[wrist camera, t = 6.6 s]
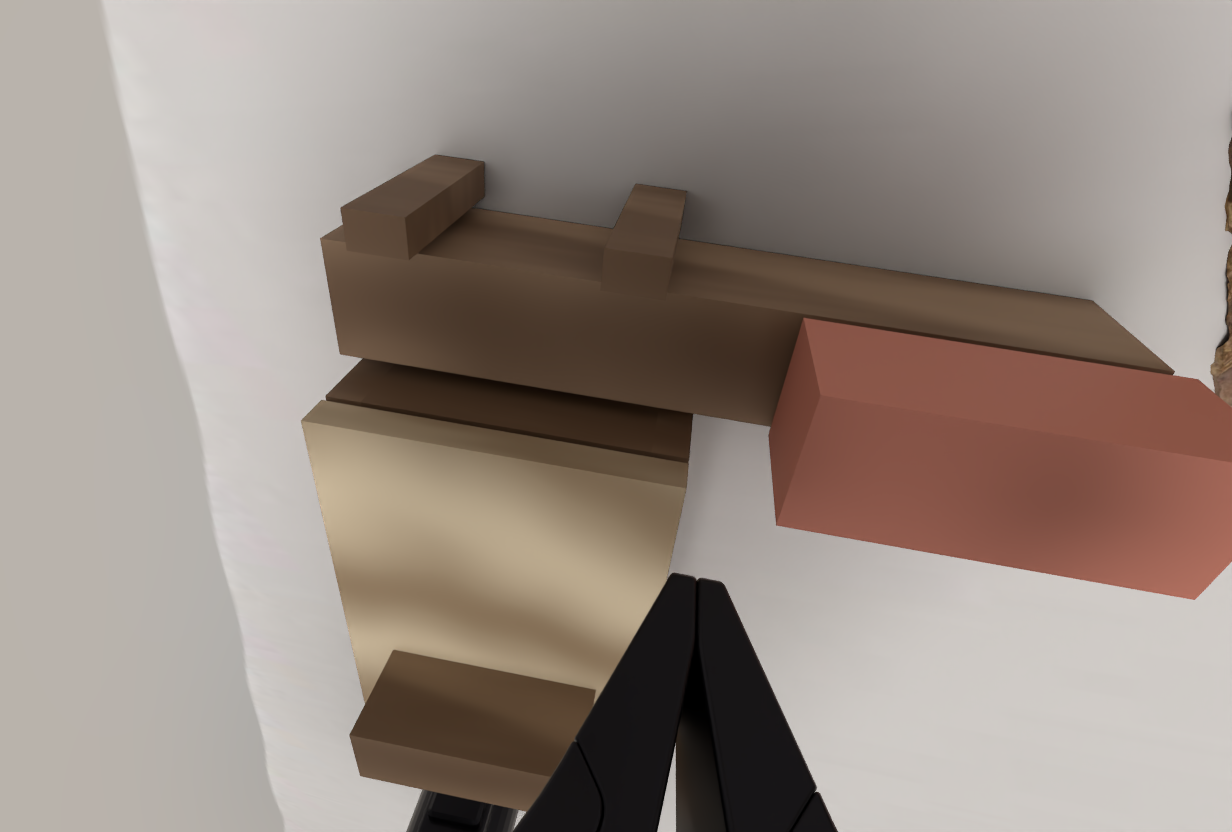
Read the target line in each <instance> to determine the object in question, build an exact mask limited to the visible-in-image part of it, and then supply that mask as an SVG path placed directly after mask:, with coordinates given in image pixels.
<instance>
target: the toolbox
mask: <svg viewBox="0 0 1232 832" xmlns="http://www.w3.org/2000/svg"><path fill="white" fill-rule="evenodd" d="M686 193H687V191H682V190H675V189H668V188H661V187H654V186H648V185H641V184H635V186H634V188H633V190H632V192H631V194H630V196H629V198H628V200H627V202H626V204H625V206H624V208H623V210H622V212H621V214H620V216H619V218H618V220H617V222H616V225H615V227H614V229H611V228H604V227H597V226H591V225H584V224H577V223H571V222H564V221H557V220H551V219H544V218H537V217H531V216H524V215H517V214H511V213H504V212H497V211H491V210H484V209H477V208H472V207H473V206H474V205H475V204H476V203H478V202H479V201H480V200H481V199H482V198H483V197H485V183H484V162H482V161H475V160H468V159H461V158H454V157H447V156H440V155H433V156H432V157H430V158H428V159H426V160H424V161H423V162H421V163H419V164H417V165H415V166H414V167H412V168H410V169H408V170H407V171H405V172H403V173H401V174H399V175H398V176H396V177H394V178H392V179H391V180H389V181H387V182H385V183H383V184H382V185H380V186H378V187H376V188H374V189H373V190H371V191H369V192H367V193H366V194H364V195H362V196H360V197H358V198H357V199H355V200H353V201H351V202H350V203H348V204H346V205H344V206H342V207H341V215H342V222H343V225H342V226H340V227H338V228H337V229H335V230H333V231H332V232H330V233H328V234H327V235H325V236H323V237H322V238H320V240H321V246H322V252H323V258H324V264H325V269H326V275H327V281H328V287H329V293H330V299H331V305H332V311H333V316H334V322H335V328H336V334H337V340H338V346H339V352H340V354H341V355H347V356H353V357H359V358H363V359H362V360H361V361H360V362H359V363H358V364H357V365H356V366H355V367H354V368H353V369H352V370H351V371H350V372H349V373H348V374H347V375H346V376H345V377H344V378H343V379H342V380H341V381H340V382H339V383H338V384H337V385H336V386H335V387H334V388H333V389H332V390H331V391H330V392H329V393H328V394H327V395H326V401H330V402H336V403H342V404H348V405H354V406H359V407H365V408H371V409H377V410H382V411H388V412H394V413H400V414H406V415H411V416H417V417H423V418H429V419H434V420H440V421H446V422H452V423H457V424H463V425H469V426H475V427H481V428H486V429H492V430H498V431H504V432H509V433H515V434H521V435H527V436H532V437H538V438H544V439H550V440H556V441H561V442H567V443H573V444H579V445H584V446H590V447H596V448H602V449H608V450H613V451H619V452H625V453H631V454H636V455H642V456H648V457H654V458H659V459H665V460H671V461H677V462H683V463H688V461H689V454H690V442H691V431H692V420H693V414H699V415H705V416H711V417H717V418H722V419H728V420H734V421H740V422H746V423H752V424H758V425H764V426H770V427H771V425H772V422H773V418H774V415H775V412H776V408H777V405H778V402H779V398H780V395H781V392H782V388H783V385H784V381H785V378H786V375H787V371H788V368H789V365H790V361H791V358H792V355H793V351H794V348H795V345H796V341H797V338H798V335H799V331H800V328H801V324H802V321H803V318H808V319H815V320H821V321H828V322H834V323H840V324H847V325H853V326H860V327H866V328H872V329H879V330H885V331H892V332H898V333H904V334H911V335H917V336H924V337H930V338H936V339H943V340H949V341H956V342H962V343H968V344H975V345H981V346H988V347H994V348H1000V349H1007V350H1013V351H1020V352H1026V353H1033V354H1039V355H1045V356H1052V357H1058V358H1065V359H1071V360H1077V361H1084V362H1090V363H1097V364H1103V365H1109V366H1116V367H1122V368H1129V369H1135V370H1141V371H1148V372H1154V373H1161V374H1167V375H1173V374H1174V372H1175V371H1174V370H1173V369H1171V368H1170V367H1169V366H1168V365H1167V364H1166V363H1164V362H1163V361H1162V360H1161V359H1160V358H1159V357H1158V356H1156V355H1155V354H1154V353H1153V352H1152V351H1151V350H1149V349H1148V348H1147V347H1146V346H1145V345H1144V344H1142V343H1141V342H1140V341H1139V340H1138V339H1137V338H1135V337H1134V336H1133V335H1132V334H1131V333H1130V332H1128V331H1127V330H1126V329H1125V328H1124V327H1123V326H1121V325H1120V324H1119V323H1118V322H1117V321H1116V320H1115V319H1113V318H1112V317H1111V316H1110V315H1109V314H1108V313H1106V312H1105V311H1104V310H1103V309H1102V308H1101V307H1099V306H1098V305H1097V304H1096V303H1095V302H1094V301H1091V300H1084V299H1078V298H1071V297H1064V296H1058V295H1051V294H1044V293H1038V292H1031V291H1024V290H1018V289H1011V288H1004V287H998V286H991V285H984V284H978V283H971V282H964V281H958V280H951V279H944V278H938V277H931V276H924V275H918V274H911V273H904V272H897V271H891V270H884V269H877V268H871V267H864V266H857V265H851V264H844V263H837V262H831V261H824V260H817V259H811V258H804V257H797V256H791V255H784V254H777V253H771V252H764V251H757V250H751V249H744V248H737V247H731V246H724V245H717V244H711V243H704V242H697V241H691V240H684V239H679V234H680V230H681V224H682V218H683V212H684V206H685V200H686Z"/></svg>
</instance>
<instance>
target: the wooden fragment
mask: <svg viewBox="0 0 1232 832" xmlns="http://www.w3.org/2000/svg"><path fill="white" fill-rule="evenodd" d="M1228 154H1229V164H1230V167H1231V181H1230V185H1229V192H1228V196H1227V199H1226V203H1225V210H1226V214H1227V219H1226V227H1225V231H1229V232H1230V233H1232V138H1231V141H1230V144H1229V150H1228ZM1227 278H1228V280H1229V283H1228V289H1229V296H1228V300H1227V301H1228V315H1227V317H1226V324H1227V325H1228V328H1229V334H1230V336H1229V340H1228V341H1227V342H1226V343H1225V344H1224V345H1222V346H1220V347H1218V348H1217V350H1216V353H1215V360H1214V363H1213V364H1212V365H1211V374H1212V375H1213V380H1214V386H1215V393H1216V395H1217V396H1219V397H1220V398H1221V399H1222V400H1223V401H1225V402H1226V403H1227V404H1228V405H1229V406H1231V407H1232V245H1231V248H1230V250H1229V252H1228V258H1227Z"/></svg>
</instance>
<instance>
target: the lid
mask: <svg viewBox="0 0 1232 832" xmlns="http://www.w3.org/2000/svg"><path fill="white" fill-rule="evenodd" d="M301 423H302V428H303V432H304V436H305V441H306V445H307V450H308V454H309V459H310V463H311V467H312V472H313V476H314V481H315V485H316V489H317V494H318V498H319V503H320V507H321V512H322V516H323V520H324V525H325V529H326V534H327V538H328V542H329V547H330V551H331V556H332V560H333V564H334V569H335V573H336V578H337V582H338V587H339V591H340V595H341V600H342V604H343V609H344V613H345V617H346V622H347V626H348V631H349V635H350V640H351V644H352V648H353V653H354V657H355V662H356V666H357V670H358V675H359V679H360V684H361V688H362V692H363V697H364V701H365V706H364V708H363V710H362V712H361V714H360V715H359V717H358V719H357V721H356V723H355V725H354V727H353V729H352V731H351V733H350V739H351V743H352V747H353V750H354V754H355V758H356V762H357V765H358V769H359V773H360V776H362V777H367V778H372V779H377V780H381V781H386V782H391V783H395V784H400V785H405V786H409V787H414V788H419V789H423V790H428V791H433V792H438V793H442V794H447V795H452V796H456V797H461V798H466V799H470V800H475V801H480V802H484V803H489V804H494V805H499V806H503V807H508V808H513V809H517V810H522V811H528V809H529V808H530V807H531V805H532V804H533V802H534V801H535V800H536V798H537V797H538V796H539V794H540V793H541V791H542V789H543V788H544V786H545V785H546V783H547V781H548V780H549V778H550V777H551V775H552V774H553V772H554V770H555V769H556V767H557V766H558V764H559V762H560V761H561V759H562V757H563V756H564V754H565V752H566V751H567V749H568V747H569V745H570V744H571V742H573V741H574V738H575V736H576V734H577V733H578V731H579V729H580V727H581V726H582V724H583V722H584V721H585V719H586V717H587V716H588V714H589V712H590V710H591V709H592V707H593V705H594V704H595V702H596V700H597V698H598V697H599V695H600V693H601V692H602V690H603V688H604V687H605V685H606V683H607V681H608V680H609V678H610V676H611V675H612V673H613V671H614V670H615V668H616V666H617V664H618V663H619V661H620V659H621V658H622V656H623V654H624V653H625V651H626V649H627V647H628V646H629V644H630V642H631V641H632V639H633V637H634V635H635V634H636V632H637V630H638V629H639V627H640V625H641V624H642V622H643V620H644V618H645V617H646V615H647V613H648V612H649V610H650V608H651V607H652V605H653V603H654V601H655V600H656V598H657V596H658V595H659V593H660V591H661V589H662V588H663V586H664V584H665V583H666V580H667V575H668V571H669V566H670V561H671V557H672V552H673V548H674V543H675V539H676V534H677V529H678V525H679V520H680V516H681V511H682V507H683V502H684V497H685V493H686V488H687V477H688V465H689V464H688V463H683V462H677V461H671V460H665V459H659V458H654V457H648V456H642V455H636V454H631V453H625V452H619V451H613V450H608V449H602V448H596V447H590V446H584V445H579V444H573V443H567V442H561V441H556V440H550V439H544V438H538V437H532V436H527V435H521V434H515V433H509V432H504V431H498V430H492V429H486V428H481V427H475V426H469V425H463V424H457V423H452V422H446V421H440V420H434V419H429V418H423V417H417V416H411V415H406V414H400V413H394V412H388V411H382V410H377V409H371V408H365V407H359V406H354V405H348V404H342V403H336V402H330V401H325V400H321V401H320V402H319V403H318V404H317V405H316V406H315V407H314V408H313V409H312V410H311V411H310V412H309V413H308V414H307V415H306V416H305V417H304V418H303V419H302V420H301Z"/></svg>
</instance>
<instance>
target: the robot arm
mask: <svg viewBox="0 0 1232 832" xmlns="http://www.w3.org/2000/svg"><path fill="white" fill-rule="evenodd" d="M675 743H676V832H838V831H837V829H836V827H835V825H834V823H833V821H832V819H831V816H830V814H829V812H828V810H827V808H826V805H825V803H824V801H823V799H822V796H821V794H820V793H819V792H815V791H816V789H817V786H816V784H815V782H814V780H813V777H812V775H811V773H810V771H809V769H808V766H807V764H806V762H805V760H804V758H803V755H802V753H801V751H800V749H799V747H798V745H797V742H796V740H795V738H794V736H793V734H792V731H791V729H790V727H789V725H788V723H787V720H786V718H785V716H784V714H783V712H782V710H781V707H780V705H779V703H778V701H777V699H776V696H775V694H774V692H773V690H772V688H771V685H770V683H769V681H768V679H767V677H766V675H765V672H764V670H763V668H762V666H761V664H760V661H759V659H758V657H757V655H756V653H755V650H754V648H753V646H752V644H751V642H750V640H749V637H748V635H747V633H746V631H745V629H744V626H743V624H742V622H741V620H740V618H739V615H738V613H737V611H736V609H735V607H734V605H733V602H732V600H731V598H730V596H729V594H728V591H727V589H726V587H725V585H724V584H723V583H722V582H720V581H716V580H711V579H705V578H699V579H698V580H697V581H696V578H695V577H693V576H689V575H684V574H679V573H672V574H671V575H670V576H669V578H668V579H667V581H666V583H665V584H664V586H663V588H662V589H661V591H660V593H659V595H658V596H657V598H656V600H655V601H654V603H653V605H652V607H651V608H650V610H649V612H648V613H647V615H646V617H645V618H644V620H643V622H642V624H641V625H640V627H639V629H638V630H637V632H636V634H635V635H634V637H633V639H632V641H631V642H630V644H629V646H628V647H627V649H626V651H625V653H624V654H623V656H622V658H621V659H620V661H619V663H618V664H617V666H616V668H615V670H614V671H613V673H612V675H611V676H610V678H609V680H608V681H607V683H606V685H605V687H604V688H603V690H602V692H601V693H600V695H599V697H598V698H597V700H596V702H595V704H594V705H593V707H592V709H591V710H590V712H589V714H588V716H587V717H586V719H585V721H584V722H583V724H582V726H581V727H580V729H579V731H578V733H577V734H576V736H575V738H574V741H573V742H571V744H570V745H569V747H568V749H567V751H566V752H565V754H564V756H563V757H562V759H561V761H560V762H559V764H558V766H557V767H556V769H555V770H554V772H553V774H552V775H551V777H550V778H549V780H548V781H547V783H546V785H545V786H544V788H543V789H542V791H541V793H540V794H539V796H538V797H537V798H536V800H535V801H534V802H533V804H532V805H531V807H530V808H529V809H528V811H527V812H526V814H525V815H524V816H523V818H522V819H521V820H520V822H519V823H518V825H517V826H516V827H515V829H514V826H515V822H516V818H517V814H518V810H517V809H513V808H508V807H503V806H499V805H494V804H489V803H484V802H480V801H475V800H470V799H466V798H461V797H456V796H452V795H447V794H442V793H438V792H433V791H428V790H422V792H421V795H420V797H419V800H418V803H417V805H416V808H415V810H414V813H413V816H412V818H411V821H410V823H409V826H408V829H407V831H406V832H657V830H658V825H659V820H660V815H661V811H662V806H663V801H664V796H665V791H666V787H667V782H668V777H669V772H670V767H671V762H672V758H673V753H674V748H675ZM513 829H514V830H513Z"/></svg>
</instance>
